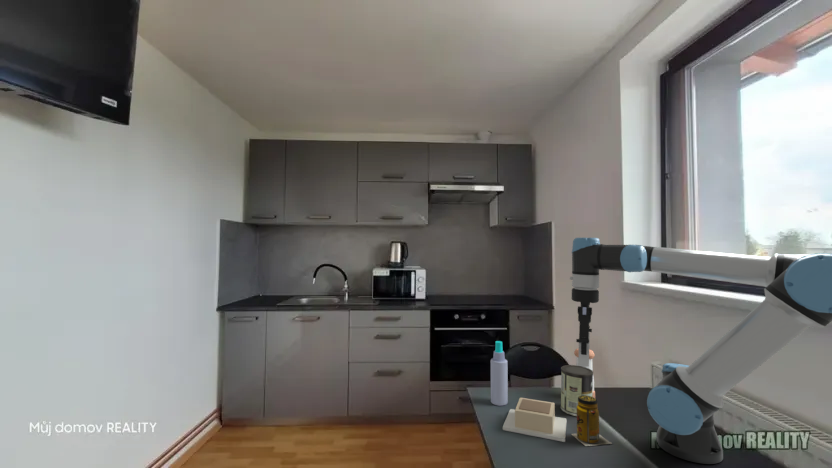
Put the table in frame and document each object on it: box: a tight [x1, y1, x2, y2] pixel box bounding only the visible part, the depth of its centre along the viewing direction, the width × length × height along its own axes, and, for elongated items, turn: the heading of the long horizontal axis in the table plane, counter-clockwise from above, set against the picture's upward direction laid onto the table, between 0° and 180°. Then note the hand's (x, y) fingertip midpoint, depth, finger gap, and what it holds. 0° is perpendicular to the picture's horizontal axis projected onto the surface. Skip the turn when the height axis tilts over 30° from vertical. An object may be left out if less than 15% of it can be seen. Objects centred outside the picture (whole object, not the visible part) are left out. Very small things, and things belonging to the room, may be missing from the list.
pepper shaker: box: [573, 347, 596, 399], centre depth 140 cm, size 7×7×19 cm
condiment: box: [571, 395, 613, 447], centre depth 111 cm, size 7×8×12 cm
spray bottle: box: [490, 340, 509, 407], centre depth 137 cm, size 6×6×22 cm
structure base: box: [502, 397, 567, 443], centre depth 119 cm, size 18×14×6 cm
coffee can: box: [560, 364, 594, 417], centre depth 131 cm, size 10×10×14 cm
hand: (584, 358), depth 113 cm, fingers open, 13 cm apart
